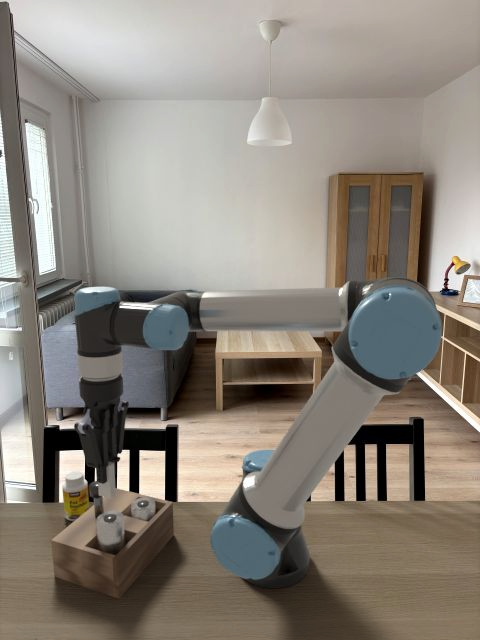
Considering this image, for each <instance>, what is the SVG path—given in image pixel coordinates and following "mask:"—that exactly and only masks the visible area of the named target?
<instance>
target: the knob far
mask: <svg viewBox="0 0 480 640" xmlns="http://www.w3.org/2000/svg"><path fill="white" fill-rule="evenodd" d="M155 515H156V511H155V501H154V500H153V499H151V498H139V499H136V500H135V501H133V502H132V504H131V516H132V518H136V519H140V520H143V521H147V522H149V521H150V520H151V519H152V518H153V517H154V516H155Z"/></svg>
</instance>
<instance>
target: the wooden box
mask: <svg viewBox="0 0 480 640" xmlns="http://www.w3.org/2000/svg"><path fill="white" fill-rule="evenodd" d="M115 492H116V495H115V496H113V497H112V498H111V499H110V498H106V497H103V507H104V513H105V512H108V511H118V512H121V513H122V514H123V515H124V531H125V547H124V548H123V549H122V550H121V551H120V552H119V553H118V554H117V555H116V556H115V555H112V554H109V553H106V552H102V551H99V550H98V537H97V522H96V520H97V518H96V517H95V510H94V504H93V505H92V506H91V507H89V509H88V510H87V511H86V512H85V513H84V514H82V515H81V516H80V517H79V518H78V519H76V520H75V521H72V523H70V524H69V525H68V526H67V527H65V528H64V529H63V530H62V531H61V532H59V533H58V534H57V535H56V536H54V537H53V538H52V539H51V540H50V541H51V552H52V553H51V554H52V562H53V563H52V564H53V565H52V566H53V575H54V578H58V579H60V580H63V581H66V582H68V583H72V584H75V585H78V586H80V587H83V588H86V589H90V590H93V591H95V592H98V593H101V594H103V595H106V596H107V595H108V596H111V597H113V598H116V599H121V598H122V596H124V594H125V593H126V592H127V590H129V588H130V587H131V586H132V585H133V583H134V582H135V581H136V580H137V579H138V578H139V577H140V576H141V574H142V573H143V572H144V571H145V569H147V568H148V566H149V565H150V564H151V563H152V562H153V560H154V559H155V558H156V557H157V556H158V554H159V553H160V552H161V551H162V550H163V548H165V547H166V545H167V544H168V543H169V542H170V540H171V539H172V538H173V536H174V535H175V534H174V532H175V531H174V530H175V529H174V527H175V526H174V502H173V501H169V500H166V499H161V498H158V497H153V496H149V495H147V494H141V493H137V492H133V491H130V490H129V491H128V490H124V489H120V488H117V487H115ZM139 498H151V499H153V500H154V501H155V511H156V515H155V516H154V517H153V518H152V519H151V520H150V521H149V522H147V521H143V520H140V519H136V518H132V516H131V504H132V502H133V501H135V500H136V499H139Z"/></svg>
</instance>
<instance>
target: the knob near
mask: <svg viewBox="0 0 480 640" xmlns="http://www.w3.org/2000/svg"><path fill="white" fill-rule="evenodd" d="M96 522H97V537H98V550H99V551H102V552H106V553H109V554H112V555H115V556H116V555H117V554H118V553H119V552H120V551H121V550H122V549H123V548H124V547H125V531H124V515H123V514H122V513H121V512H118V511H108V512H105V513H102V514H101V515H99V516H98V517H97V520H96Z"/></svg>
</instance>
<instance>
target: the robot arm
mask: <svg viewBox="0 0 480 640" xmlns="http://www.w3.org/2000/svg"><path fill="white" fill-rule="evenodd" d="M73 317H74V322H75V323H74V324H75V331H76V332H75V334H76V342H77V343H76V344H77V348H76V349H77V351H76V352H77V360H78V361H77V362H78V365H77V366H78V375H79V376H80V377H79V378H78V386H79V387H78V389H79V396H80V398H81V400H82V401H83V402H84V408H83V411H82V413H83V416H84V417H82V419H81V421H80V422H75V423H74V426H73V428H74V430H75V432H76V433H78V436H79V440H80V444H81V447H82V452H83V455H84V459H85V463H86V466H87V467H89V468H93V469H95V475H96V476H95V477H96V481H97V482H98V490H99V496H103V497H106V498H110V499H111V498H112V497H113V496H115V495H116V492H115V488H116V478H115V477H116V476H115V475H116V463H119V462H120V461H121V457H120V456H118V455H119V454H120V455H121V454H122V452H123V450H124V449H123V448H124V438H125V437H124V436H125V428H126V418H127V417H126V416H127V412H128V409H129V406H130V405H129V403H130V402H129V401H127V400H122V399H121V396H122V395H123V394H124V376H123V374H122V373H123V370H124V366H123V352H122V351H123V349H122V346H125V347H133V348H141V349H150V350H153V351H154V350H155V351H178V350H179V349H181V348H182V347H183V346H184V343H185V342H186V340H187V339H188V335H189V332H340V334H339V336H338V337H337V339H336V340H334V341H335V342H334V343H333V345H332V346H331V351H332V352H331V353H332V357H333V362H332V365H331V366H330V367H329V369H328V370H327V372H326V373H325V375H324V376H323V378H322V379H321V381H320V382H319V384H318V385H317V387H316V388H315V389H314V391H313V393H312V394H311V396H310V397H309V399H308V400H307V402H306V403H305V405H304V406H303V408H302V409H301V411H300V412H299V414H298V415H297V417H296V418H295V419H294V420H293V422H292V424H291V426H290V427H289V428H288V429H287V432H286V433H285V434H284V436H283V437H282V439H281V441H280V442H279V443H278V444H277V446H276V448H275V449H258V450H254V451H251V452H249V453H247V454H246V455H245V456H244V457H243V461H242V465H241V468H242V478H241V481H240V483H239V484H238V486H237V488H236V489H235V491H234V492H233V494H232V496H231V497H230V499H229V500H228V502H227V504H226V505H225V506H224V507H225V508H224V509H223V511H222V512H221V513H220V515H219V517H217V519H215V521H214V523H213V527H212V529H211V532H210V538H209V539H210V547H211V549H212V551H213V554H214V557H215V558H216V560H217V561H218V562H219V564H220V565H221V566H222V567H223V568H225V570H226V571H228V572H230V573H231V574H233V575H234V576H237V577H239V578H242V579H244V580H245V581H247V582H248V583H250V584H252V585H254V586H257V587H261V588H267V589H282V588H287V587H290V586H293V585H295V584H297V583H299V582H301V580H302V579H304V578H305V576H306V575H307V574H308V572H309V569H310V551H309V550H310V549H309V547H308V543H307V542H306V538H305V534H304V532H303V530H302V524H303V523H304V520H305V517H306V511H305V507H304V505H305V503H306V502H307V500H308V499H309V498H310V497H311V496H312V493H313V492H314V491H315V489H316V488H317V487H318V486H319V484H320V483H321V482H322V480H323V478H324V477H325V476H326V475H327V473H328V472H329V471H330V469H331V468H332V466H333V465H334V464H335V462H336V461H337V460H338V458H339V457H340V456H341V454H342V453H343V451H344V450H345V449H346V448H347V446H348V444H349V443H350V442H351V440H352V439H353V438H354V436H355V435H356V434H357V432H358V431H359V430H360V429H361V427H362V426H363V424H364V423H365V422H366V420H368V417H369V416H370V415H371V414H372V412H373V411H374V409H375V408H376V406H378V404H379V402H380V401H381V400H382V398H383V397H384V396H389V395H391V396H392V395H398V394H400V393H401V392H402V390H403V389H404V387H405V386H406V385H407V384H408V383H409V381H410V380H411V378H412V377H413V376H414V375H416V374H418V373H420V372H421V371H422V370H425V368H427V367H428V366H429V364H430V363H431V362H432V361H433V360H434V358H435V356H436V355H437V352H438V351H439V349H440V345H441V342H442V337H443V326H442V324H443V323H442V319H441V315H440V313H439V310H438V308H437V305H436V302H435V298H434V297H433V295H432V294H431V292H430V291H429V290H428V289H427V288H426V287H425V286H424V285H423V284H421V283H420V282H418V281H417V280H414V279H411V278H408V277H403V276H402V277H400V276H393V277H384V278H383V277H382V278H377V279H367V280H366V279H365V280H352V281H351V280H350V281H349V280H348V281H347V282H346V283H345V284H344V285H342V286H341V287H312V288H310V287H309V288H278V289H277V288H276V289H275V288H274V289H272V288H271V289H240V290H239V289H238V290H236V289H235V290H207V291H199V290H197V289H193V288H188V289H180V290H178V291H175V292H174V293H171V294H169V295H167V296H166V295H165V296H163V297H160V298H158V299H155V300H152V301H149V302H135V301H134V302H133V301H124V300H121V296H120V292H119V290H118V288H115V287H111V286H92V287H91V286H90V287H83V288H80V289H79V290H77V291H76V292H75V294H74V314H73Z"/></svg>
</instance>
